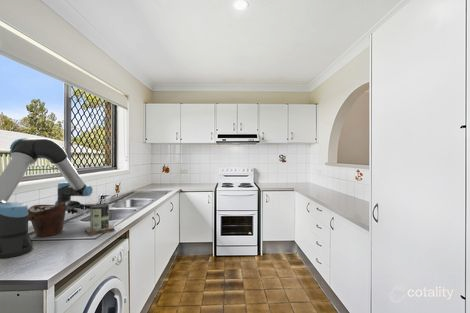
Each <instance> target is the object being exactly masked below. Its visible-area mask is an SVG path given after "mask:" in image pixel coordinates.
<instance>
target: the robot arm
mask: <svg viewBox="0 0 470 313" xmlns="http://www.w3.org/2000/svg"><path fill="white" fill-rule="evenodd" d="M9 146H10V147H9V149H10V150H9V152H10V157H11V159H10V161H9V162H8V164H7V165H6V166H5V168H4V169H3V171H2V172H1V174H0V259H1V260H2V259H9V258H14V257H19V256H22V255H24V254H28V253H30V252H31V251H32V250H33V249H34V248H33V247H34V246H33V245H34V244H33V242H32V240H31V237H30V235H29V221H28V209H29V208H28V205H27V204H26V203H24V202H17V201H14V202H13V201H12V202H11V201H9V200H10V198H11V197H12V194H14V192H15V191H16V189H17V186H18V185H19V183H20V182H21V180H22V179H23V177H24V175H25V174H26V172H27V171H28V169H29V167H30V166H33V165H35V164H36V162H37V160H38V159H46V160H48V161H49V162H50V164H51V165H52V164H53V165H54V166H55V168H56V169H57V170H58V172H59V173H60V174H61V175H62V177H63V178H64V179H65V182H64V181H63V182H62V181H61V182H59V183H57V199H56V201H55V203H54V205H58V204H60V203H62V202H64V203H65V204H66V206H67V209H66V212H67V214H71V215H74V214H77V215H78V214H79V215H82V214H83V211H84V210H90V206H92V205H97V204H99V203H81V202H80V201H78V200H71V199H72V197H83V198H84V197H89V196H91V195H92V194H93V187H92V186H91V185H89V184H86V183H85V181H84V180H83V179H82V177H81V175H79V173H78V171H77V169H76V168H75V167H74V165H73V164H72V162H71V161H70V160H69V158H68V156H69V155H68V153H67V152H66V151H65V149H64V148H63V147H62V146H61V145H60V144H58V142H55V141H54V140H52V139H50V138H44V137H43V138H42V137H41V138H40V137H39V138H38V137H37V138H36V137H33V138H32V137H31V138H30V137H23V138H17V139H15V140H14V141H13V142H12V143H11V144H10V145H9ZM8 201H9V202H8Z"/></svg>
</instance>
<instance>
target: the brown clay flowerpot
mask: <svg viewBox="0 0 470 313" xmlns="http://www.w3.org/2000/svg"><path fill="white" fill-rule="evenodd" d="M66 209H67V206H66V204H65V203H64V202H62V203H60V204H58V205H55V204H35V205H31V206H30V207H29V208H28V222H31V224H32V228H33V230H34V233H35V236H37V237H50V236H53V235H57V234H60V233H61V232H63V230H64V225H65V217H66V212H67V211H66Z"/></svg>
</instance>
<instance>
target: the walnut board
mask: <svg viewBox="0 0 470 313" xmlns="http://www.w3.org/2000/svg"><path fill="white" fill-rule="evenodd" d="M84 231H85V233H86V234H87V235H88V236H93V235H99V234H105V233H109V232H115V231H116V230H115V227H114V226H113V225H111V224H109V228H108V229H105V230H100V231H92V230H90V227H86V228H84Z"/></svg>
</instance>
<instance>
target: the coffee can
mask: <svg viewBox="0 0 470 313" xmlns="http://www.w3.org/2000/svg"><path fill="white" fill-rule="evenodd" d="M96 204H97V203H96ZM89 210H90V211H89V214H90V215H89V216H90V217H89V220H90V222H89V225H90V227H89V228H90V230H92V231H100V230H105V229H108V228H109V225H110V223H109V222H110V221H109V220H110V217H109V216H110V213H109V210H110V205H109V204H107V203H98V204H97V205H92V206H90V209H89Z"/></svg>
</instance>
